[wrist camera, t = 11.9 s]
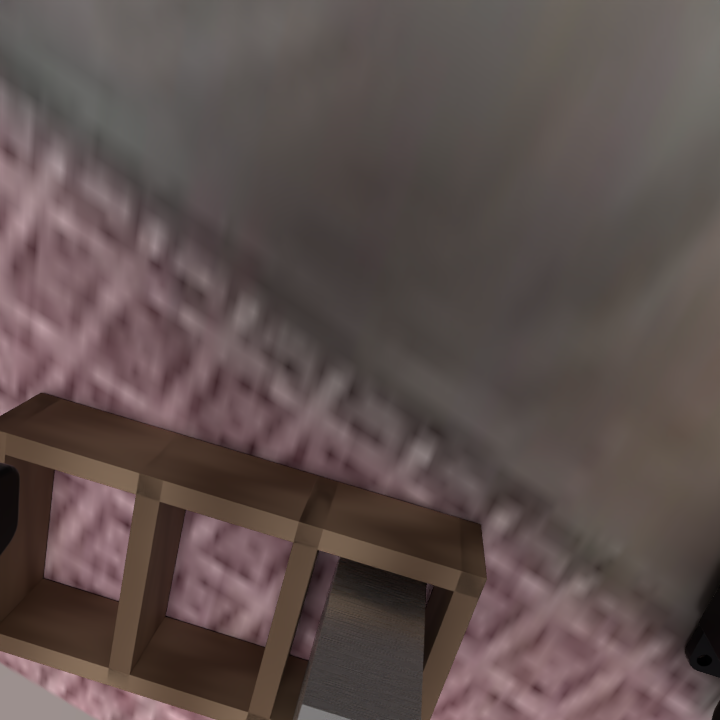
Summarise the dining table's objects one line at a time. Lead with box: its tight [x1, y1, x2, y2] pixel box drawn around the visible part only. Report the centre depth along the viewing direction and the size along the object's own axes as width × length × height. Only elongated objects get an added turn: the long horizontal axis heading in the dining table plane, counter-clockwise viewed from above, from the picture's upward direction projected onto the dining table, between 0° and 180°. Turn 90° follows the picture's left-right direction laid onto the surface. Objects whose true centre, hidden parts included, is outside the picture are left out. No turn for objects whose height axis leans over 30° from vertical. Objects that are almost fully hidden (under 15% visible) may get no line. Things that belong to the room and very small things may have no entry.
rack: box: [0, 393, 487, 720], centre depth 22 cm, size 17×10×3 cm, turn 75°
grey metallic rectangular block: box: [293, 556, 426, 720], centre depth 20 cm, size 3×6×8 cm, turn 165°
